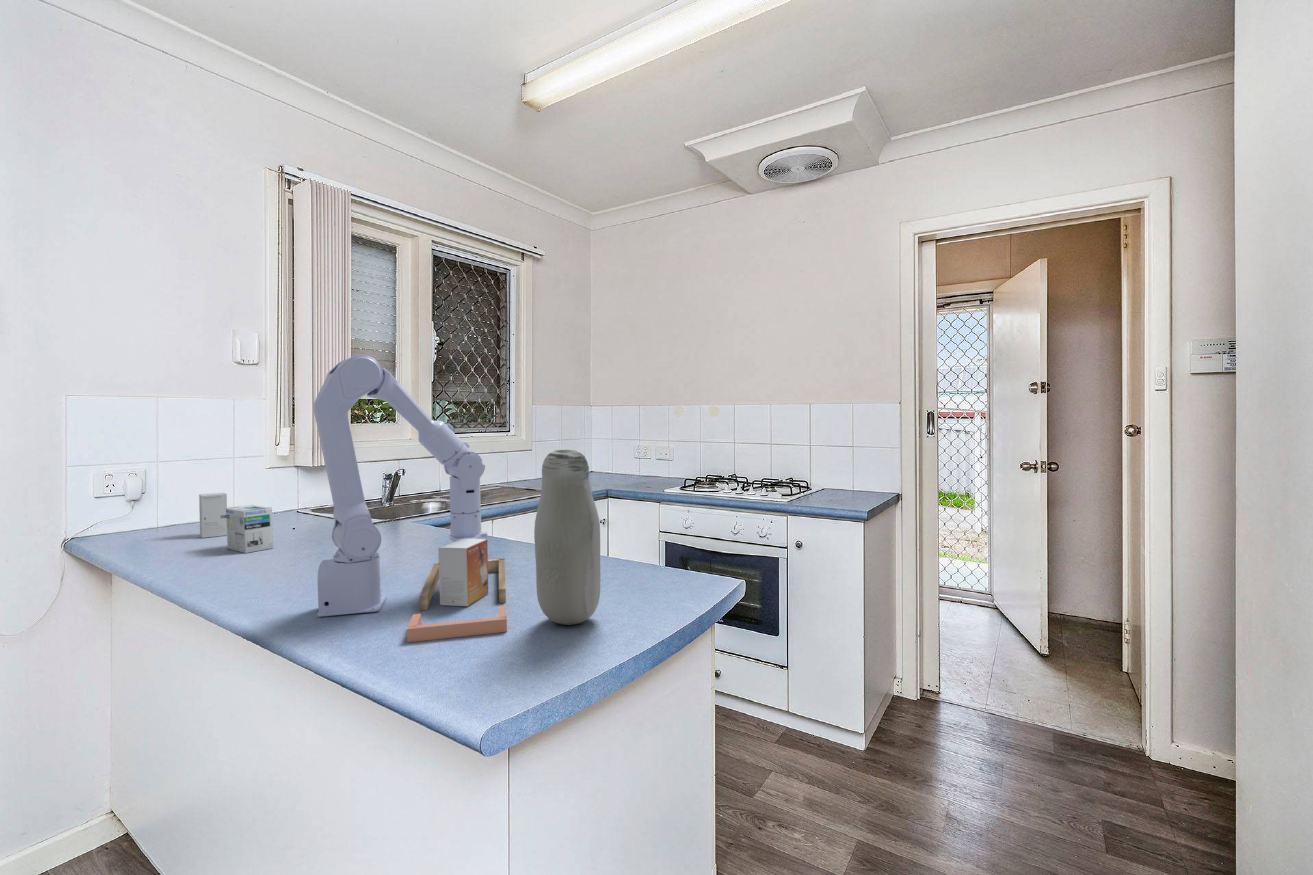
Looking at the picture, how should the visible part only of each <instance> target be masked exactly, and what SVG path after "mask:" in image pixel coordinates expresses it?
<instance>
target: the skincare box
mask: <svg viewBox="0 0 1313 875" xmlns="http://www.w3.org/2000/svg"><path fill="white" fill-rule="evenodd" d="M227 495H228V494H227V493H226V492H214V493H213V492H211V493H202V494H201V493H199V495H198V496H199V498H198V499H199V500H198V501H199V536H200V537H201V539H205V538H215V537H221V536H227V521H226V508H228V500H227V499H228V496H227Z"/></svg>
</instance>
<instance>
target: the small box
mask: <svg viewBox="0 0 1313 875" xmlns="http://www.w3.org/2000/svg"><path fill="white" fill-rule="evenodd" d="M488 553H489V552H488V538H487V539H486V538H480V539H464V538H461V539H459V541H458V540H457V541H455V542H454V541H452V542H450V543H448V544H445V545H443V546H439V547H438V563H439V580H438V582H439V583H438V584H439V586H438V588H439V605H440V606H451V607H469V606H470V605H472V604H473V603H475V602H476V601H478V600H480V599H481V598H483V597H486V596H487V595H489V573H488V560H489V556H488V555H489V554H488Z"/></svg>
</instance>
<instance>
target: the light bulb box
mask: <svg viewBox="0 0 1313 875" xmlns="http://www.w3.org/2000/svg"><path fill="white" fill-rule="evenodd" d="M226 521H227V535H226V540H227V549H228V550H233V551H237V552H240V553H243V554H249V553H254V552H259V551H260V552H261V551H265V550H269V549H274V548H275V545H274V542H275V541H274V528H273V527H274V526H273V522H274V521H273V508H272V506H271V507H269V506H263V505H262V506H261V505H255V504H249V505H241V506H240V505H239V506H231V507H228V506H227V508H226Z"/></svg>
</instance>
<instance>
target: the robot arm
mask: <svg viewBox="0 0 1313 875" xmlns="http://www.w3.org/2000/svg"><path fill="white" fill-rule="evenodd" d="M365 395H366V397H369V398H373V399H376V400H380V401H383V402H386V403H387V404H388V405H389V406H390V407H391V408H393V410H395V411H396V412H397V413H398V414H399V415H400V416H401V417H403V419H405V421H406V422H408V423H409V424H410V426H412V427H413V428H414V429H415V430H416V431H417V433H418V442H419V444H421V446H423V447H424V448H425V449H426V450H427V451H428V452H429V453H430V454H431V455H432V456H433V457H434V458H435V459H436V461H438V462H439V463H440V465H443V468H444V472H445V473H446V474H447V475H449V511H450V513H449V514H450V515H449V516H450V518H449V519H450V534H449V540H450V541H452V542H455V541H457V540H458V541H459V539H461V538H464V539H483V538H487V537H488V536H489V534H488V531H482V506H481V504H482V502H481V500H482V499H481V496H482V495H481V478H482V476H483V474H484V472H485V469H486V465H485V464H484V463H483V459H482V457H481V456H480V455H479V454H478V453H476V452H474V451H470V450H469V448H470V445H469V443H467V442H464V441H462V439H461V438H459V436H457V434H455V433H454V431H453V430H454V426H453V425H451V423H445V422H444V421H443V420H433V419H432V418H431V417H430V416H429V414H428V413H426V411H425V410H424V409H423V407H421V406H420V404H419V403H418V402H416V400H415V399H414V398H413V397H412V396H411V395H410V393H409V392H408V391H407V390H406V389H405V388H404V387H403V385H402V384H400V382H399V381H398V380H397V379H396V378H395V377H394V376H393V374H392V373H391V372H390V371H389V370H387V369H386V368H384V367H382V366H381V364H380V363H379V362H378V360H376V359H374V357H371V356H369V355H366V354H355V355H352V356H351V357H349V358H346V359H344V360H342V361H339V362H338V363H337V364H336V365H335V366H333V367H332V368H331V369H330V370H329V371H328V372H327V374H326V377H325V379H324V381H323V383H322V386H321V388H320V389H319V392H318V394H317V395H316V397H315V400H314V403H313V405H312V408H313V409H312V410H313V414H314V418H315V423H316V427H317V432H318V436H319V442H320V447H321V452H322V456H323V457H322V458H323V461H324V465H325V466H324V467H325V469H326V474H327V480H328V485H329V488H330V493H331V498H332V503H333V513H332V514H333V519H334V521H333V522H334V525H333V528H332V531H331V540H332V542H333V544H334V545H335V546H336V547H337V548H338V549H337V550H336V552H335V553H334V555H333V556H332V558H331V559H324V560H322V561H321V562H320V564H319V565H318V570H317V600H318V604H317V606H318V613H317V617H321V618H322V617H329V616H331V617H332V616H341V615H352V614H362V613H373V612H379V611H380V609H381V608H382V606H383V605H384V603H385V601H386V599H387V597H388V596H387V595H385V594H383V595H382V593H381V591H382V590H381V566H380V565H381V561H380V551H379V548H380V546H381V544H382V534H381V532H380V530H379V529H378V528H377V527H376V526H375V524H374V523H373V521H372V516H371V515H372V514H371V513H370V511H369V509H368V505H367V503H366V500H365V494H364V490H363V485H362V480H361V476H360V469H359V466H358V462H357V461H358V460H357V456H356V451H355V446H354V442H353V437H352V431H351V428H350V426H351V425H350V422H349V418H348V412H350V410H351V409H352V408H353V407H354V406H355V405H356V403H357V402H358V401H360V398H362V397H364V396H365Z"/></svg>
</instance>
